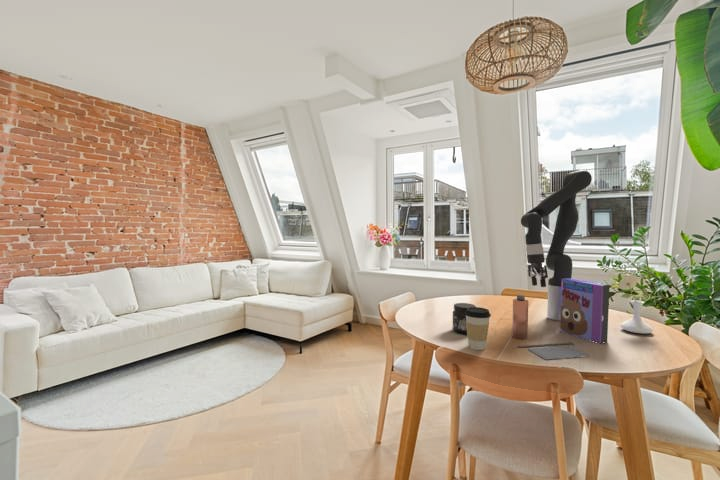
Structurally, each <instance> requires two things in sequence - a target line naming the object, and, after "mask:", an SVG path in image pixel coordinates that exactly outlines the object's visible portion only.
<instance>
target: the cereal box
mask: <svg viewBox="0 0 720 480" xmlns="http://www.w3.org/2000/svg"><path fill="white" fill-rule="evenodd" d="M609 302H610V284H605V283H599V282H594V281H587V280H581V279H575V278H571V279H570V278H565V279H562V284H561V316H560V321H559V324H560V325H559V332H561V333H563V334H567V335H570V336H572V337H573V336H574V337H576V336H577V338H579V337H580V338H581V339H582V338H584V339H583V340H586V339H587V340H586V341H589V340H591V341H590V342H592V341H594V342H593V343H595V342H597V343H596V344H598V343H602V344H604V343H603V342H606V343H608V331H609V309H610V308H609V305H610V304H609ZM580 338H579V339H580Z"/></svg>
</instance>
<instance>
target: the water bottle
mask: <svg viewBox="0 0 720 480" xmlns="http://www.w3.org/2000/svg"><path fill="white" fill-rule="evenodd" d="M511 321H512V322H511V323H512V324H511V325H512V326H511V327H512V328H511V330H512V331H511V337H512V338H514V339H515V340H516V339H517V340H527V339H528V331H529V330H528V329H529V327H528V326H529V324H528V323H529V300H528V299H525V295H523V294H516V298H514V299H512V320H511Z"/></svg>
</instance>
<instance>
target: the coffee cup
mask: <svg viewBox="0 0 720 480" xmlns="http://www.w3.org/2000/svg"><path fill="white" fill-rule="evenodd" d="M464 314H465V315H466V328H467V335H466V337H467V340H468V341H467V342H468V343H467V344H468V348H469V349H471V350H474V351H484V350H485V349H486V344H487V339H488V334H489V327H490V317H492V316H491V315H492V314H491V313H490V310H489V309H488V308H484V307H477V306H476V307H469V308H467V309H466V311H465V313H464Z"/></svg>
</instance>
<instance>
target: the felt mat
mask: <svg viewBox="0 0 720 480" xmlns="http://www.w3.org/2000/svg"><path fill="white" fill-rule="evenodd" d="M527 351H529V352H531V353H533V354H534V355H536V356H538V357H540V358H541V359H543V360H545V361H551V360H550V359H554V360H563V359H562V358H567V359H572V358H571V357H580V358H582V357H581V356H590V355H589V354H587V353H585V352H583V351H580V350H579V349H576V348H574V347H572V346H570V345H561V346H547V347H532V348H527Z"/></svg>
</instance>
